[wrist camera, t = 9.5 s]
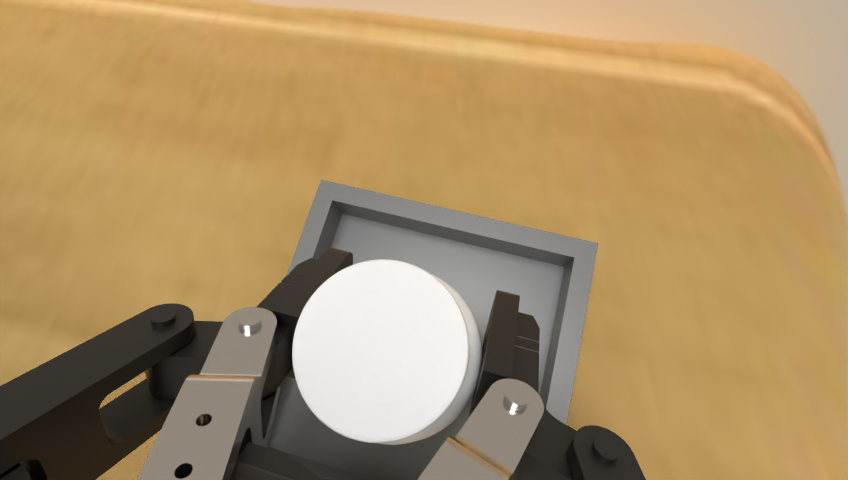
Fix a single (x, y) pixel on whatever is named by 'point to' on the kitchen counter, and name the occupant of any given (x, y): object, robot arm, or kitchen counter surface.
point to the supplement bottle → (386, 353)
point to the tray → (476, 283)
